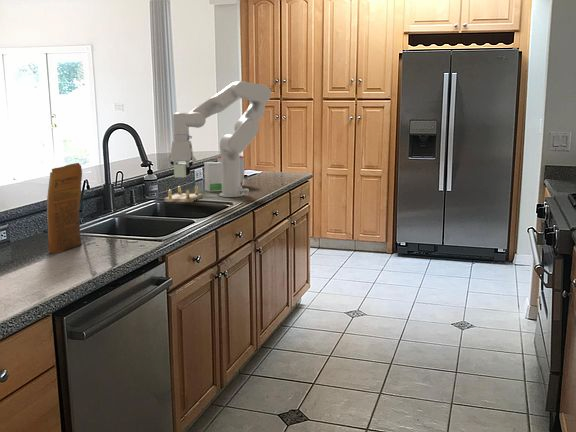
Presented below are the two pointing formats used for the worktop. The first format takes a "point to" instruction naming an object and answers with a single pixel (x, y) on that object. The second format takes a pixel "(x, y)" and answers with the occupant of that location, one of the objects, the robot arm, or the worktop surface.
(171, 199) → the mount plate
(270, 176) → the worktop surface
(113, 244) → the worktop surface
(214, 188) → the skincare box
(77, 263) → the worktop surface
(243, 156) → the citrus juicer
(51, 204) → the pancake mix bag
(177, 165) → the block
